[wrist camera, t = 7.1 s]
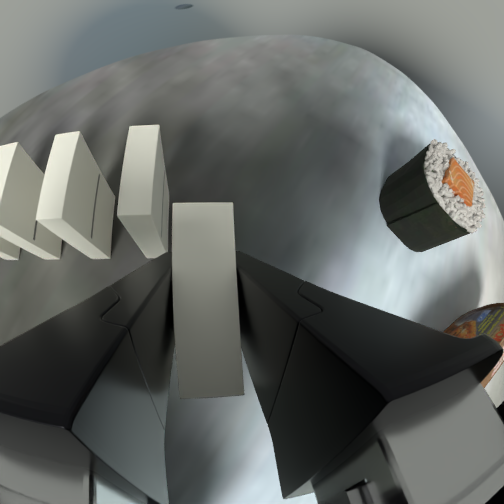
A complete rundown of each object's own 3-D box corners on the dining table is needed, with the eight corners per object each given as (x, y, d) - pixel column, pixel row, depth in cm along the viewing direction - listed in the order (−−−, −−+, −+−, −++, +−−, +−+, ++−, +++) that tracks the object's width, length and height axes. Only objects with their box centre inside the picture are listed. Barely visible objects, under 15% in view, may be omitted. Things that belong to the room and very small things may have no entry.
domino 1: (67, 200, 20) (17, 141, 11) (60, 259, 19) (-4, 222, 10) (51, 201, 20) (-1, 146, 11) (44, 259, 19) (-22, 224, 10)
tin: (471, 304, 26) (527, 294, 18) (476, 328, 25) (532, 322, 17) (384, 377, 22) (453, 390, 14) (392, 404, 21) (458, 423, 13)
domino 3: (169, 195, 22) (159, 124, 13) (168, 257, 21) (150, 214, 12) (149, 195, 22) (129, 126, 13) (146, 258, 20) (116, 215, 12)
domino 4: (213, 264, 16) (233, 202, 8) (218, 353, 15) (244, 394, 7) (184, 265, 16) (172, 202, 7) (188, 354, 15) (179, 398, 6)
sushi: (425, 265, 25) (485, 246, 18) (368, 213, 25) (423, 175, 17) (443, 210, 28) (492, 184, 20) (393, 161, 27) (439, 122, 20)
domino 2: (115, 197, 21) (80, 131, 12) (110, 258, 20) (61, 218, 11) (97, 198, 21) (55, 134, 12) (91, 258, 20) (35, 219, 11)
